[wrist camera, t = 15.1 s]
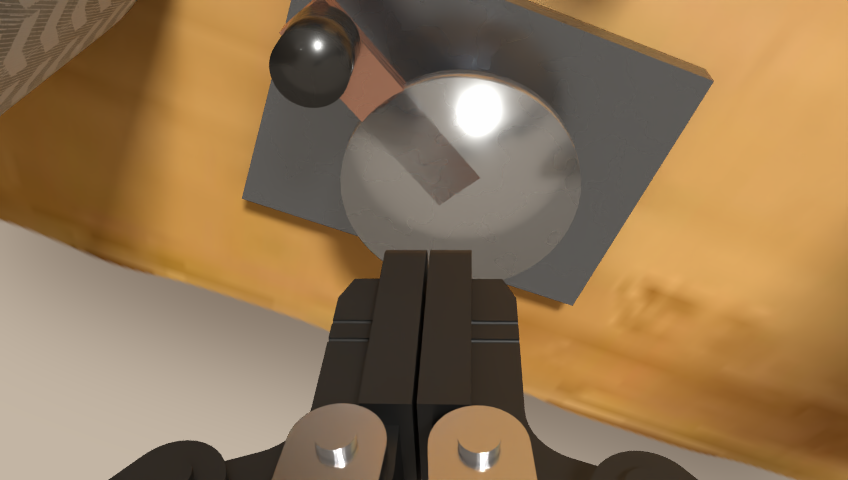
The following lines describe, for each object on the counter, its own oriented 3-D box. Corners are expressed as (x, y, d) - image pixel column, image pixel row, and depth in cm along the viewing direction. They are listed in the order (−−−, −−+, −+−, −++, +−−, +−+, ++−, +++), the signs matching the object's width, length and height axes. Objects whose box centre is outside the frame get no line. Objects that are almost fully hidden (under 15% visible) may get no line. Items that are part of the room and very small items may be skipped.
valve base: (705, 69, 36) (735, 112, 32) (569, 290, 44) (579, 346, 40) (316, -82, 33) (293, -57, 29) (248, 184, 41) (223, 234, 37)
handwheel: (623, 199, 34) (640, 251, 31) (441, 307, 39) (438, 362, 35) (404, -86, 28) (394, -61, 24) (215, 83, 32) (184, 124, 29)
